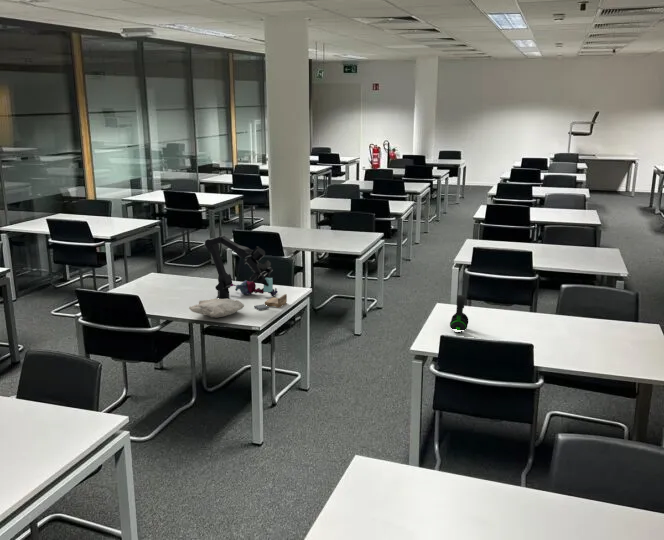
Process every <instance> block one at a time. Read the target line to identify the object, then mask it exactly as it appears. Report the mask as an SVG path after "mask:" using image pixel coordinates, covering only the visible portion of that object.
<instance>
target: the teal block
mask: <svg viewBox="0 0 664 540" xmlns="http://www.w3.org/2000/svg"><path fill="white" fill-rule="evenodd" d="M273 278H274V277H270V278H268V277H267V278H265V280H266V281H267V283H268V285H269V286H266V285H264V284H263V288H264V293H268V292H271V291H273V289H274V288H273V286H274V285H273V283H274V282H273V280H274V279H273Z"/></svg>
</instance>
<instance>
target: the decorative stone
mask: <svg viewBox="0 0 664 540" xmlns="http://www.w3.org/2000/svg"><path fill="white" fill-rule="evenodd" d="M244 307H245V305H244V303H242V302H241V301H240V300H238V299H236V300H235V299H231V298H230V299H218V298H210V299H204V300H199V301H198V304H195V305H192V306H189V308H188V309H189V310H190V311H191V312H193V313H195V314H200V315H205V316H208V317H210V318H216V319H217V318H223V317H227V316H230V315H232V314H235V313H236V312H237V311H239V310H242V309H243V308H244Z"/></svg>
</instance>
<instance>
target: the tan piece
mask: <svg viewBox="0 0 664 540" xmlns="http://www.w3.org/2000/svg"><path fill="white" fill-rule="evenodd" d="M287 297H288V296H287V294H286V293H285V294H283V295H281V296H280V297H274V296H273V297H272V296H271V297H270V298H269V299H267V300H266V301H264V305H267V306H268V307H270V306H276V307H275V308H279V307H280V308H281V306H282V305H283V306H285V305H286V304H287V303H286V302H288V301H287ZM285 303H286V304H285ZM283 306H282V307H283Z"/></svg>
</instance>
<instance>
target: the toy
mask: <svg viewBox="0 0 664 540" xmlns="http://www.w3.org/2000/svg"><path fill="white" fill-rule="evenodd" d="M256 285H257V284H256V281H255V282H254V281H253V282H252V281H251V280H246V279H245V280H244V281H242V282H241V283H239V284H234V283H232V284H231V286H230V288H232V287H235V291H236V292H237V291H238V290H239V291H240V293H241V294H243V295H248V294H250V295H252V294H253V293H255V294H257V293H259V294H264V293H265V292H264V287H263V288H261V287H258V288H256V287H257V286H256ZM267 293H268V294H270V295H271V297H272V296H273V297H275V296H276V293H277V294H278V289H277V288H276V287H275V288H273V291H271V292H267ZM274 295H275V296H274Z"/></svg>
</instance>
